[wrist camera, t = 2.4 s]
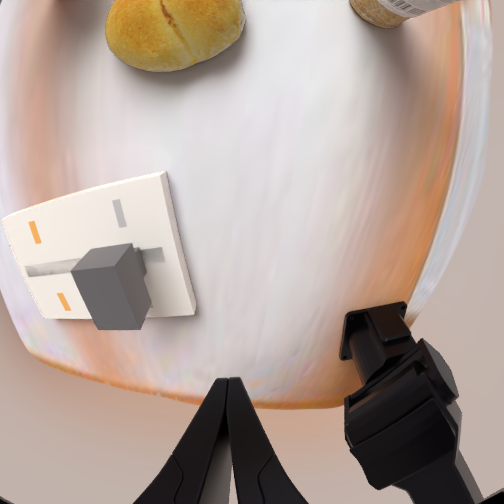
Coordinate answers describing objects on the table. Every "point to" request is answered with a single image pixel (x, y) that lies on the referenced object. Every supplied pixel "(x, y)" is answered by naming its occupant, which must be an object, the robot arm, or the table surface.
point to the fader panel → (102, 244)
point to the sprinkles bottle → (395, 10)
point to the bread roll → (172, 31)
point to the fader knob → (113, 286)
